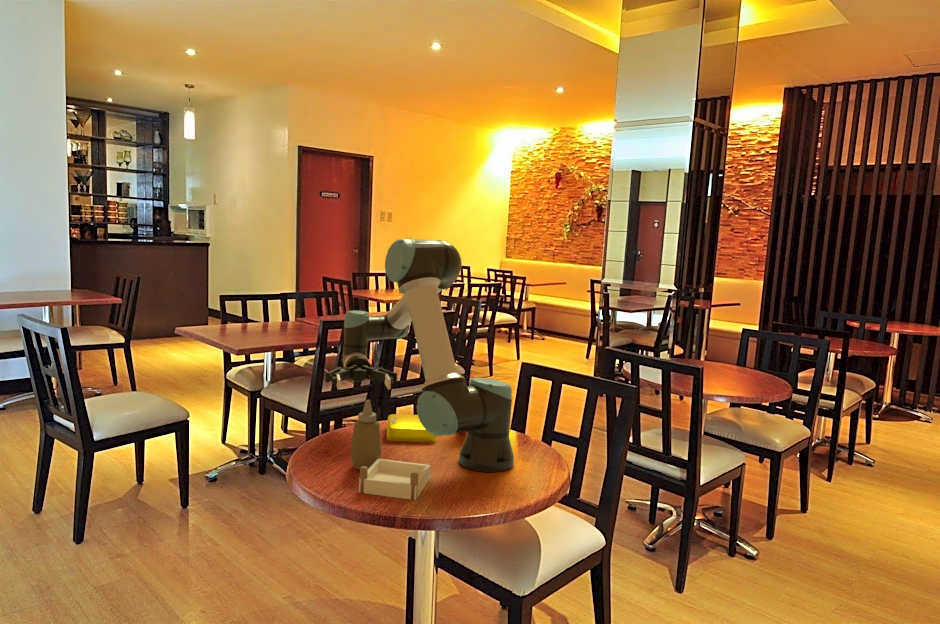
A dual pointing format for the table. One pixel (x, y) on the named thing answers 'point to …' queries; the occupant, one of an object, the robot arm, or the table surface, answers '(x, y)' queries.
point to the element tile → (407, 429)
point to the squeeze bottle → (366, 438)
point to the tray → (394, 479)
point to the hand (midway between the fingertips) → (364, 384)
